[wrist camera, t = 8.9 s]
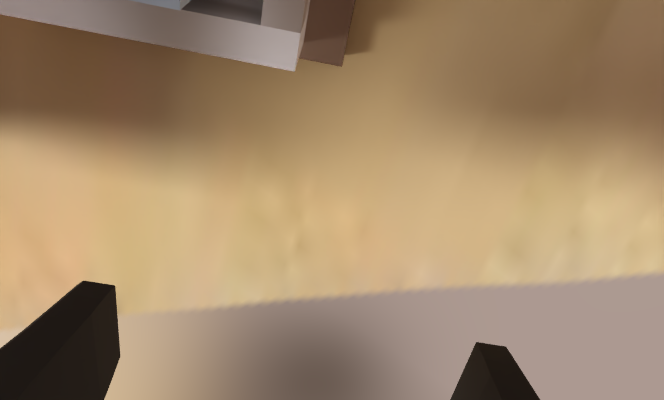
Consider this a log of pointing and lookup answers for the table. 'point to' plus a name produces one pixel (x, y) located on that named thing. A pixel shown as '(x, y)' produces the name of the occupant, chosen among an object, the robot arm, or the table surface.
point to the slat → (166, 3)
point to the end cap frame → (211, 26)
